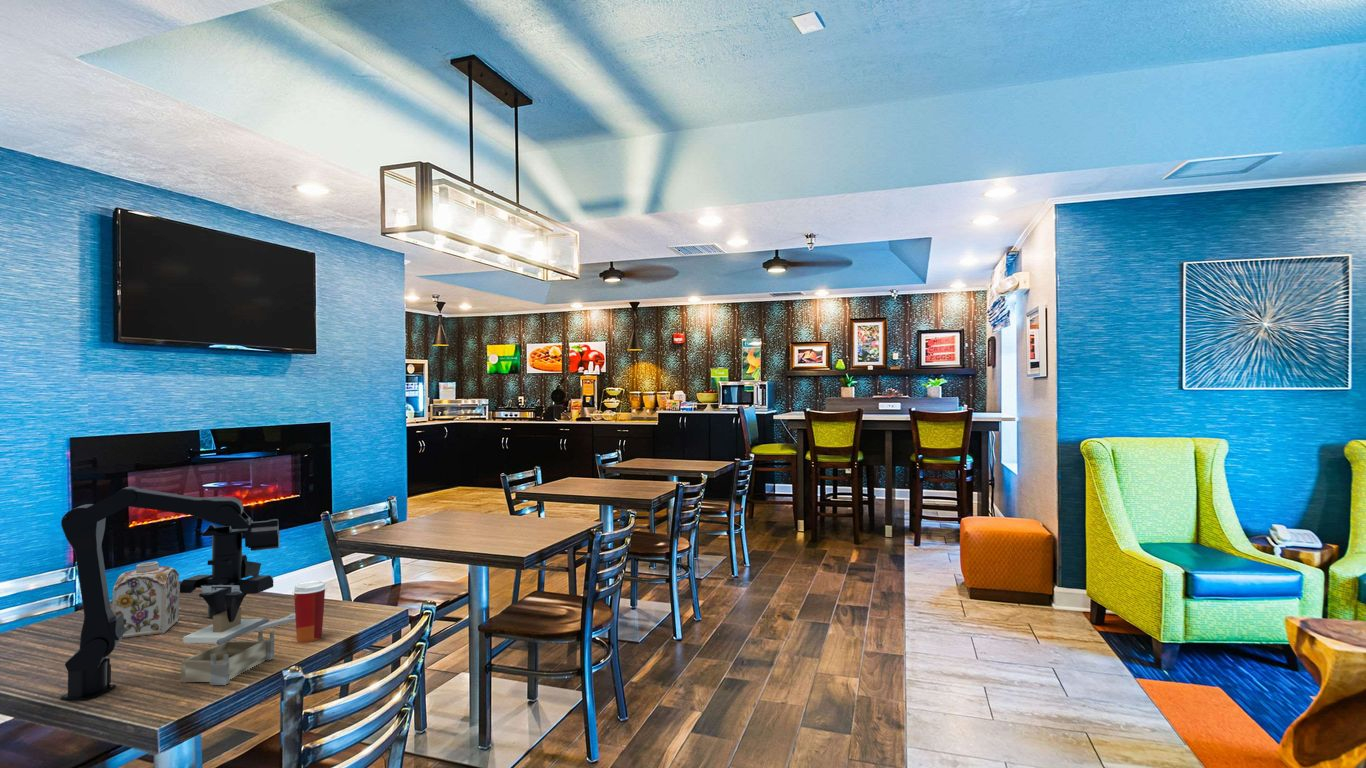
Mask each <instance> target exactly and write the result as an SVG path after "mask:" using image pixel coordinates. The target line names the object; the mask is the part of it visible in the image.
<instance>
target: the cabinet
mask: <svg viewBox="0 0 1366 768" xmlns="http://www.w3.org/2000/svg"><path fill="white" fill-rule="evenodd" d="M257 632H258V633H257V634H258V637H257V638H258V639H257V640H230V641H228V642H225V643H223V644H221V645H217V644H216V645H214V646H211V647H209V648H208V649H205V650H203V651H201V652H199V653H197V654H195V655H194V654H193V656H191V657H188V658H186V659H184V660H181V662H180V664H181V665H180V683H186V682H210V683H209V685H210V686H212V685H226V684H228V683H229V684H230V681H231V680H233V679H235V678H236V677H235V676H237V675H239V674H240V675H242V674H244V673H246V672H248V671H250V670H251V669H253V668H255V667H256V665H257V666H259V665H260V664H262V663H264V662H266V661H269V660H271V659H273V658H274V659H275V631H274V630H272V631H270V632H269V639H263V636H264V634H263V633H264V630H261V631H257ZM274 659H273V660H274ZM265 660H266V661H265ZM271 661H272V660H271ZM258 664H259V665H258ZM254 666H255V667H254ZM252 667H253V668H252ZM250 668H251V669H250ZM247 670H248V671H247ZM245 671H246V672H245ZM243 672H244V673H243ZM241 673H242V674H241ZM240 675H239V676H240ZM234 677H235V678H234ZM237 677H238V676H237ZM232 678H233V679H232ZM230 679H231V680H230ZM229 684H228V685H229ZM226 686H227V685H226Z"/></svg>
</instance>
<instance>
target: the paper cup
mask: <svg viewBox="0 0 1366 768" xmlns="http://www.w3.org/2000/svg"><path fill="white" fill-rule="evenodd" d="M326 589H327V586H326V584H325V582H324V581H320V580H314V581H312V580H311V581H306V582H301V583H297V584H296V585H295V586H294V588H293V590H292V593H293V597H294V598H293V599H294V613H295V619H296V622H295V630H296V631H295V632H296V633H295V634H296V641H297V642H298V643H301V642H303V644H304V643H311V642H316V641H318V640H321V638H322V635H323V624H324V622H323V621H324V614H325V613H324V611H325V596H326V595H325V594H326Z"/></svg>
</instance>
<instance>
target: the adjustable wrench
mask: <svg viewBox="0 0 1366 768" xmlns="http://www.w3.org/2000/svg"><path fill="white" fill-rule="evenodd" d="M289 622H295V623H296V619H295V612H294V613H290V614H289V615H287V616H284V617H282V618H278V619H276V620H271V621H270V620H269V622H267V623H265V624H263V625H261V626H259V627H257V628H255V629H253V630H251V631H249V632H246V633H244V634H245V635H248V633H249V634H252V633H251V632H253V633H256V632H255V631H257V632H260V630H261V631H264V630H263V629H265V630H268V629H272V628H275V627H274V626H276V627H279V626H278V625H280V626H282V625H281V624H284V625H286V624H285V623H289ZM289 624H290V623H289ZM271 627H272V628H271ZM267 628H268V629H267ZM244 634H242V636H244Z"/></svg>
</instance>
